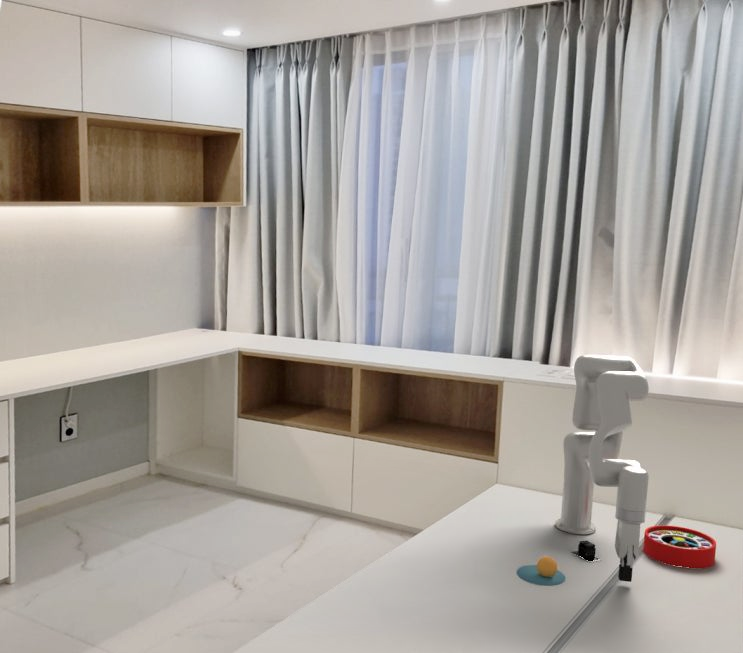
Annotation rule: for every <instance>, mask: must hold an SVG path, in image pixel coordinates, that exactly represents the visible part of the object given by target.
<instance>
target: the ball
mask: <svg viewBox="0 0 743 653" xmlns="http://www.w3.org/2000/svg"><path fill="white" fill-rule="evenodd" d="M536 565H537V570H538V572H539V573H540V574H541V575H542V576H544V577H552V576H553V575H555V573H556V572H557V570H558V564H557V561H556V560H555V559H554V558H553V557H552V556H546V555H545V556H543V557H542V556H541V557H540V558H539V559H538V561H537V563H536Z"/></svg>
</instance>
